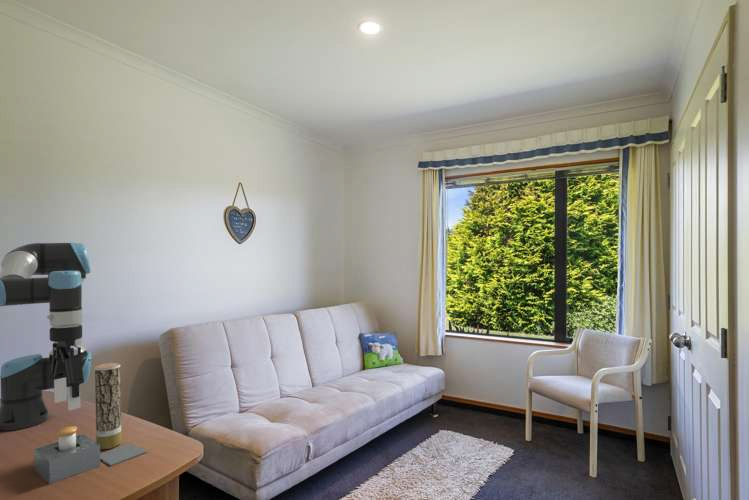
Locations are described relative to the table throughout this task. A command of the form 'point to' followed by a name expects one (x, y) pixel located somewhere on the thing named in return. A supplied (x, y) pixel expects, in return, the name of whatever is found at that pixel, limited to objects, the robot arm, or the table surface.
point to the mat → (121, 454)
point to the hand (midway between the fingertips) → (67, 405)
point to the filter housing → (66, 459)
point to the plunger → (67, 438)
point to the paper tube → (108, 405)
